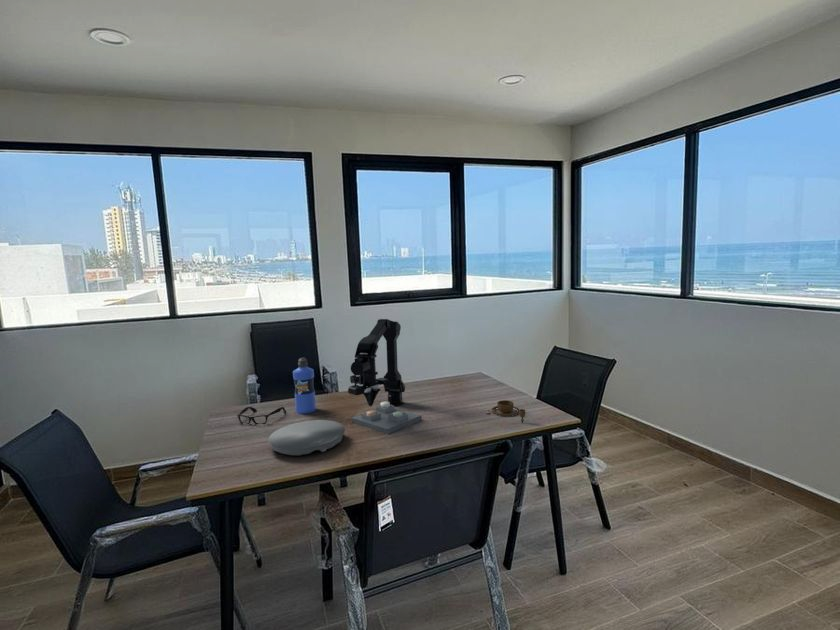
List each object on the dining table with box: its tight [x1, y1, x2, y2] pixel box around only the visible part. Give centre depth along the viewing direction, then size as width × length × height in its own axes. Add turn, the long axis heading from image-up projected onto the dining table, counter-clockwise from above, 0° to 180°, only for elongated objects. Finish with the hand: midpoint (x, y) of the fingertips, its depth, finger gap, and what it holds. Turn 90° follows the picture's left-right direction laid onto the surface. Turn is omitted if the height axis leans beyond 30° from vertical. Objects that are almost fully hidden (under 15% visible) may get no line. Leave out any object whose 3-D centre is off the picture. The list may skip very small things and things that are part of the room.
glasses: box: [237, 406, 287, 425], centre depth 202 cm, size 17×18×5 cm
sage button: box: [393, 411, 403, 417], centre depth 187 cm, size 4×4×2 cm
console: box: [351, 404, 423, 435], centre depth 191 cm, size 20×22×4 cm
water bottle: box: [292, 357, 317, 415], centre depth 208 cm, size 9×9×25 cm
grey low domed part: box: [268, 419, 346, 456], centre depth 169 cm, size 28×28×4 cm
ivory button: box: [380, 401, 390, 409], centre depth 198 cm, size 4×4×2 cm
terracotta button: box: [365, 410, 376, 416], centre depth 190 cm, size 4×4×2 cm
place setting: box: [486, 400, 526, 424], centre depth 193 cm, size 18×20×6 cm
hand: (370, 406), depth 189 cm, fingers closed
